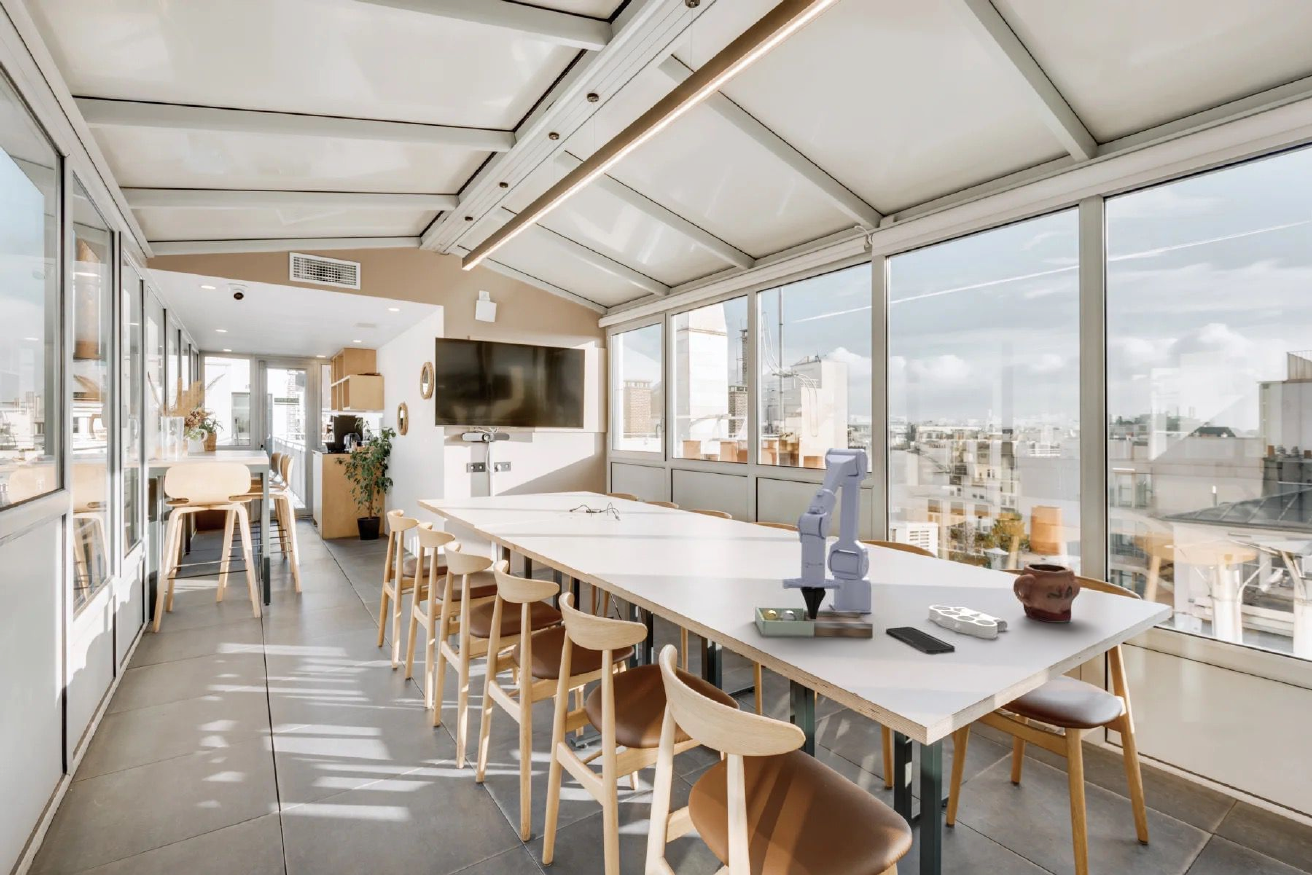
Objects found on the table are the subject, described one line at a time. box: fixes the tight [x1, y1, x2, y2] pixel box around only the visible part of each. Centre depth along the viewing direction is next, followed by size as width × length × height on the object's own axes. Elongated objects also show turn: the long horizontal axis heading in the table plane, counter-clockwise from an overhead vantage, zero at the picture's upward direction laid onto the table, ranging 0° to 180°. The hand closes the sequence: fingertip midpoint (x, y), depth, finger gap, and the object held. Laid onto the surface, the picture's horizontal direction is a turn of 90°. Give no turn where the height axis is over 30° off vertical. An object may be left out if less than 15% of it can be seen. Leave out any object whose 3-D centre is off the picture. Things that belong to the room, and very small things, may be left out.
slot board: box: [803, 609, 874, 638], centre depth 147 cm, size 14×10×3 cm
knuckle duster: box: [928, 604, 1008, 640], centre depth 152 cm, size 3×18×15 cm
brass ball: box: [762, 610, 778, 621], centre depth 147 cm, size 4×4×4 cm
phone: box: [885, 626, 956, 655], centre depth 140 cm, size 8×1×15 cm
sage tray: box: [754, 606, 815, 638], centre depth 147 cm, size 12×12×4 cm
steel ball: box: [779, 610, 796, 621], centre depth 147 cm, size 4×4×4 cm
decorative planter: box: [1012, 563, 1081, 623], centre depth 158 cm, size 20×12×14 cm, turn 112°
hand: (812, 617), depth 147 cm, fingers closed
